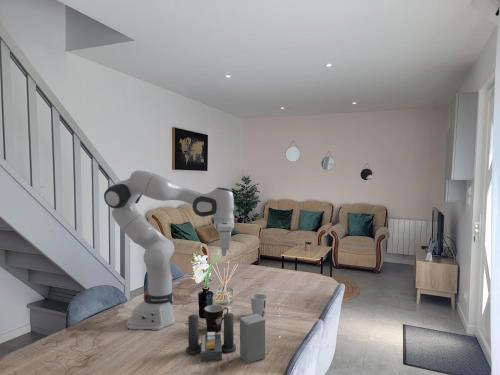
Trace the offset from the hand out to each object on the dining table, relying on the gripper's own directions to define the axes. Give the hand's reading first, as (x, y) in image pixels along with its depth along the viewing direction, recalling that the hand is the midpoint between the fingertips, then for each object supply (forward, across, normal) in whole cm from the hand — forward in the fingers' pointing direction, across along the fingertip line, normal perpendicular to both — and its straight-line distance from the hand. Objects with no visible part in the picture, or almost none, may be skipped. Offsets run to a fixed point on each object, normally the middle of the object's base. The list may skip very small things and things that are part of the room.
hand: (224, 255), depth 150 cm
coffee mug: (+35, -3, -3) cm, 35 cm away
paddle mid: (+31, +16, -6) cm, 36 cm away
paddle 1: (+31, +12, -6) cm, 34 cm away
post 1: (+35, +15, -13) cm, 40 cm away
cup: (+35, -15, +18) cm, 42 cm away
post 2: (+35, +15, +1) cm, 38 cm away
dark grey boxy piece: (+35, +16, -6) cm, 39 cm away
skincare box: (+35, +22, +10) cm, 43 cm away
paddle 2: (+31, +20, -6) cm, 38 cm away
